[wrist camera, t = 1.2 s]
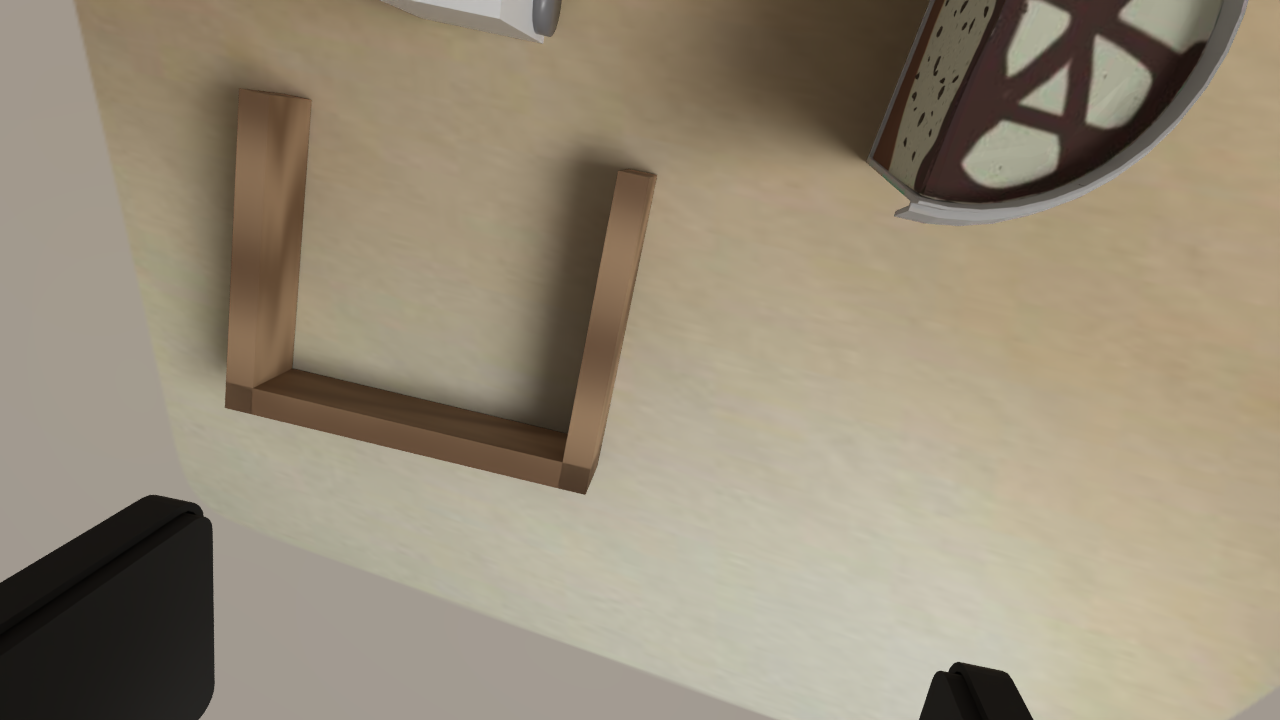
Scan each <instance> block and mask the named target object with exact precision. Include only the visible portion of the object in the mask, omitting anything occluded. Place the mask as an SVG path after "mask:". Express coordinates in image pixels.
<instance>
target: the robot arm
mask: <svg viewBox="0 0 1280 720" xmlns="http://www.w3.org/2000/svg"><path fill="white" fill-rule="evenodd" d="M212 532H213V531H212V524H211V522H210V520H209V519H208V518H206V517H204V516H203V511H202V509H201V508H200V506H199V505H197V504H195V503H192V502H187V501H183V500H178V499H173V498H168V497H163V496H158V495H149V496H146V497H144V498H142V499H140V500H138V501H137V502H135V503H133V504H131V505H130V506H128V507H126V508H125V509H123V510H121V511H120V512H118V513H116V514H115V515H113V516H111V517H110V518H108V519H106V520H105V521H103V522H101V523H100V524H98V525H97V526H95V527H93V528H92V529H90V530H88V531H86V532H85V533H83V534H81V535H80V536H78V537H76V538H75V539H73V540H71V541H70V542H68V543H66V544H65V545H63V546H61V547H59V548H58V549H56V550H54V551H53V552H51V553H49V554H48V555H46V556H45V557H43V558H41V559H39V560H38V561H36V562H35V563H33V564H31V565H29V566H28V567H26V568H24V569H23V570H21V571H19V572H18V573H16V574H14V575H13V576H11V577H9V578H8V579H6V580H4V581H3V582H1V583H0V720H198V719H199V718H200V717H201V716H202V715H203V713H204V712H205V710H206V709H207V707H208V705H209V703H210V700H211V698H212V695H213V692H214V684H215V681H214V608H213V607H214V606H213V535H212V534H213V533H212ZM919 720H1033V718H1032V716H1031V714H1030V712H1029V711H1028V709H1027V707H1026V705H1025V703H1024V701H1023V699H1022V697H1021V695H1020V693H1019V691H1018V690H1017V688H1016V686H1015V684H1014V682H1013V680H1012V679H1011V677H1010V676H1009V674H1008V673H1006V672H1004V671H1000V670H995V669H990V668H986V667H981V666H976V665H971V664H966V663H961V662H957V663H954V664H953V665H952V666H951V667H950V669H949V672H944V671H938V672H937V673H936V674H935V675H934V677H933V679H932V682H931V685H930V688H929V691H928V694H927V697H926V700H925V703H924V706H923V709H922V712H921V715H920V718H919Z"/></svg>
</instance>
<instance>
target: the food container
mask: <svg viewBox="0 0 1280 720" xmlns="http://www.w3.org/2000/svg"><path fill="white" fill-rule="evenodd" d="M1247 4H1248V0H930V1H929V4H928V6H927V9H926V11H925V14H924V16H923V19H922V22H921V24H920V27H919V29H918V32H917V34H916V37H915V39H914V42H913V44H912V47H911V49H910V52H909V55H908V57H907V60H906V62H905V65H904V67H903V70H902V72H901V75H900V77H899V80H898V82H897V85H896V87H895V90H894V93H893V95H892V98H891V100H890V103H889V105H888V108H887V110H886V113H885V115H884V118H883V120H882V123H881V125H880V128H879V131H878V133H877V136H876V138H875V141H874V143H873V146H872V148H871V151H870V153H869V156H868V158H867V161H866V163H868V164H869V165H870V166H871V167H872V168H873V169H874V170H876V171H877V172H878V173H879V174H880V175H881V176H882V177H884V178H885V179H886V180H887V181H888V182H889V183H890V184H892V185H893V186H894V187H895V188H896V189H897V190H899V191H900V192H901V193H902V194H903V195H904V196H905V197H907V198H908V199H909V200H910V201H911V202H910V204H909V206H906V207H904V208H902V209H899V210H897V211H895V214H894V216H895V217H899V218H904V219H908V220H912V221H917V222H921V223H927V224H939V225H952V226H965V225H979V224H993V223H998V222H1002V221H1007V220H1011V219H1016V218H1020V217H1025V216H1029V215H1032V214H1035V213H1038V212H1041V211H1044V210H1047V209H1050V208H1052V207H1055V206H1058V205H1060V204H1063V203H1066V202H1068V201H1071V200H1074V199H1077V198H1079V197H1081V196H1083V195H1085V194H1087V193H1088V192H1090V191H1092V190H1094V189H1096V188H1098V187H1100V186H1101V185H1103V184H1105V183H1107V182H1109V181H1111V180H1113V179H1114V178H1115V177H1117V176H1118V175H1120V174H1121V173H1122V172H1124V171H1125V170H1127V169H1128V168H1129V167H1131V166H1132V165H1133V164H1135V163H1136V162H1138V161H1139V160H1140V159H1142V158H1143V157H1144V156H1146V155H1147V154H1148V153H1149V152H1150V151H1151V150H1152V149H1153V148H1154V147H1155V146H1156V145H1157V144H1158V143H1159V142H1160V141H1161V140H1163V139H1164V138H1165V137H1166V136H1167V135H1168V134H1169V133H1170V132H1171V131H1172V130H1173V129H1174V128H1175V127H1176V126H1177V124H1178V123H1179V122H1180V121H1181V119H1182V118H1183V117H1184V116H1185V115H1186V113H1187V112H1188V111H1189V110H1190V108H1191V107H1192V106H1193V105H1194V103H1195V102H1196V101H1197V100H1198V98H1199V97H1200V96H1201V94H1202V93H1203V92H1204V91H1205V89H1206V88H1207V87H1208V85H1209V83H1210V82H1211V80H1212V78H1213V77H1214V75H1215V73H1216V72H1217V70H1218V68H1219V67H1220V65H1221V63H1222V62H1223V60H1224V58H1225V57H1226V55H1227V53H1228V52H1229V49H1230V47H1231V45H1232V42H1233V40H1234V38H1235V35H1236V33H1237V31H1238V28H1239V26H1240V24H1241V21H1242V19H1243V17H1244V14H1245V11H1246V7H1247Z"/></svg>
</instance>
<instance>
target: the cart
mask: <svg viewBox="0 0 1280 720" xmlns="http://www.w3.org/2000/svg"><path fill="white" fill-rule="evenodd" d="M380 1H383V2H385V3H387V4H389V5H392V6H394V7H396V8H399V9H401V10H403V11H406V12H408V13H410V14H413V15H415V16H417V17H420V18H422V19H427V20H432V21H436V22H441V23H446V24H451V25H456V26H460V27H465V28H470V29H475V30H479V31H484V32H489V33H494V34H498V35H503V36H508V37H513V38H518V39H522V40H527V41H532V42H537V43H541V44H543V40H544V36H548V37H551V36H552V35H553V34H554V32H555V29H556V26H557V23H558V19H559V14H560V8H561V0H380Z"/></svg>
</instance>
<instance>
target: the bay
mask: <svg viewBox="0 0 1280 720" xmlns="http://www.w3.org/2000/svg"><path fill="white" fill-rule="evenodd" d="M310 114H311V100H309V99H305V98H300V97H296V96H291V95H286V94H280V93H272V92H264V91H256V90H248V89H240V88H239V105H238V128H237V150H236V172H235V195H234V217H233V239H232V262H231V284H230V306H229V328H228V351H227V373H226V395H225V408H228V409H232V410H236V411H240V412H245V413H249V414H253V415H257V416H261V417H265V418H269V419H274V420H278V421H282V422H286V423H290V424H294V425H298V426H303V427H307V428H311V429H315V430H319V431H323V432H327V433H332V434H336V435H340V436H344V437H348V438H352V439H356V440H361V441H365V442H369V443H373V444H377V445H381V446H385V447H390V448H394V449H398V450H402V451H406V452H410V453H414V454H419V455H423V456H427V457H431V458H435V459H439V460H443V461H448V462H452V463H456V464H460V465H464V466H468V467H472V468H477V469H481V470H485V471H489V472H493V473H497V474H501V475H506V476H510V477H514V478H518V479H522V480H526V481H530V482H535V483H539V484H543V485H547V486H551V487H555V488H559V489H564V490H568V491H572V492H576V493H580V494H584V495H586V492H587V490H588V487H589V485H590V482H591V480H592V478H593V475H594V473H595V470H596V468H597V465H598V460H599V456H600V451H601V446H602V441H603V436H604V431H605V426H606V422H607V417H608V412H609V407H610V402H611V397H612V392H613V388H614V383H615V378H616V373H617V368H618V363H619V358H620V354H621V349H622V344H623V339H624V334H625V329H626V324H627V320H628V315H629V310H630V305H631V300H632V295H633V290H634V286H635V281H636V276H637V271H638V266H639V261H640V256H641V252H642V247H643V242H644V237H645V232H646V227H647V222H648V218H649V213H650V208H651V203H652V198H653V193H654V188H655V184H656V179H657V175H654V174H650V173H645V172H641V171H636V170H631V169H625V170H620V171H618V174H617V180H616V185H615V190H614V195H613V201H612V206H611V211H610V216H609V222H608V227H607V232H606V237H605V243H604V248H603V253H602V258H601V264H600V269H599V274H598V279H597V285H596V290H595V295H594V300H593V306H592V311H591V316H590V321H589V327H588V332H587V337H586V342H585V348H584V353H583V358H582V363H581V368H580V374H579V379H578V384H577V389H576V395H575V400H574V405H573V410H572V416H571V421H570V426H569V431H568V434H566V433H562V432H558V431H554V430H549V429H545V428H541V427H537V426H532V425H528V424H524V423H520V422H516V421H511V420H507V419H503V418H499V417H495V416H490V415H486V414H482V413H478V412H473V411H469V410H465V409H461V408H457V407H452V406H448V405H444V404H440V403H436V402H431V401H427V400H423V399H419V398H414V397H410V396H406V395H402V394H398V393H393V392H389V391H385V390H381V389H377V388H372V387H368V386H364V385H360V384H355V383H351V382H347V381H343V380H339V379H334V378H330V377H326V376H322V375H318V374H313V373H309V372H305V371H301V370H296V369H292V365H293V351H294V337H295V323H296V309H297V295H298V281H299V268H300V254H301V240H302V226H303V212H304V198H305V184H306V170H307V156H308V142H309V128H310Z"/></svg>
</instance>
